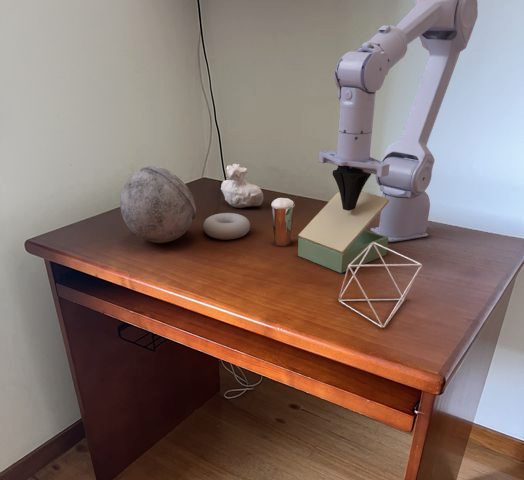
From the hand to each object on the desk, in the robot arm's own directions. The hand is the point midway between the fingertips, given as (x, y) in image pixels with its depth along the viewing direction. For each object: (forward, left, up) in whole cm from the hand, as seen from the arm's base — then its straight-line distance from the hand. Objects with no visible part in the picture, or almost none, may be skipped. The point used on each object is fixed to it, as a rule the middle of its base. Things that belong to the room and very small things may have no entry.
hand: (349, 208), depth 101 cm
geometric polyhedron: (+6, +21, -9) cm, 24 cm away
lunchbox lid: (+1, 0, -2) cm, 2 cm away
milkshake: (+8, -11, -9) cm, 16 cm away
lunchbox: (0, -1, -9) cm, 9 cm away
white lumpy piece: (+8, -38, -9) cm, 40 cm away
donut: (+17, -21, -9) cm, 28 cm away
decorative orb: (+31, -22, -9) cm, 39 cm away
